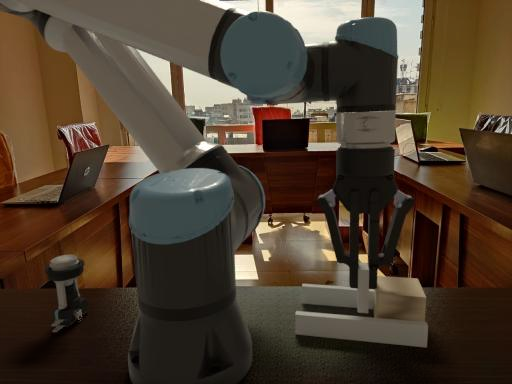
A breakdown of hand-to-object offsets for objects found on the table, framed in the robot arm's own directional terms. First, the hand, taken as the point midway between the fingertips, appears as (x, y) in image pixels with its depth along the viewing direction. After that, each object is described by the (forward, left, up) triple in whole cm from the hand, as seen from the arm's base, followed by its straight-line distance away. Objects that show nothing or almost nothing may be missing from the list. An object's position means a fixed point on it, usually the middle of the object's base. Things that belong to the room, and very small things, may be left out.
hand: (362, 308), depth 54 cm
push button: (-43, -8, -2) cm, 44 cm away
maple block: (+5, 0, -2) cm, 5 cm away
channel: (-1, 0, -2) cm, 2 cm away
